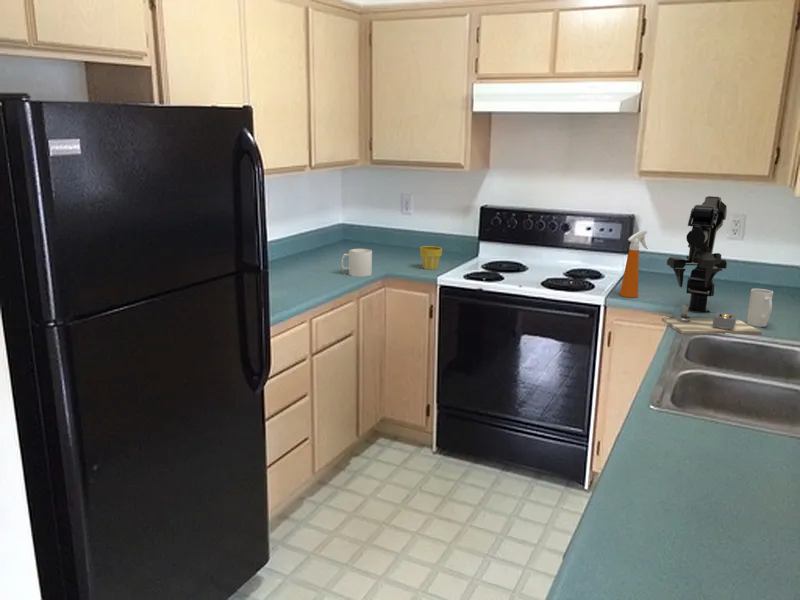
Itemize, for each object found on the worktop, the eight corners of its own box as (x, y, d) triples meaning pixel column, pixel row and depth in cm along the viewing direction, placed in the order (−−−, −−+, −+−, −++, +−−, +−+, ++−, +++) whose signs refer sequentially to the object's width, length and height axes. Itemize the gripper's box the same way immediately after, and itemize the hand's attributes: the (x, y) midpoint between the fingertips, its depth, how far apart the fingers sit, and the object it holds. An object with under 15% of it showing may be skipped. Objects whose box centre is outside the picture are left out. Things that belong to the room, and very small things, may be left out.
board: (661, 320, 230) (662, 318, 230) (736, 321, 231) (736, 318, 231) (681, 333, 215) (681, 330, 215) (761, 334, 217) (761, 331, 217)
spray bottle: (648, 296, 265) (656, 231, 259) (628, 298, 261) (636, 232, 254) (635, 292, 271) (642, 228, 265) (615, 294, 267) (622, 230, 260)
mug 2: (741, 321, 232) (747, 288, 229) (760, 321, 232) (766, 288, 229) (757, 329, 222) (763, 295, 219) (777, 330, 222) (783, 295, 219)
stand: (674, 318, 229) (676, 303, 228) (686, 318, 229) (688, 303, 228) (680, 322, 225) (682, 306, 224) (692, 322, 225) (694, 306, 224)
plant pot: (445, 267, 311) (446, 247, 309) (434, 271, 303) (435, 250, 300) (426, 265, 316) (427, 245, 314) (415, 268, 308) (415, 247, 306)
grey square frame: (714, 320, 224) (716, 312, 223) (735, 324, 221) (737, 315, 220) (712, 325, 219) (713, 316, 218) (733, 328, 215) (735, 319, 215)
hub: (712, 325, 222) (714, 312, 221) (727, 325, 223) (729, 312, 222) (720, 329, 217) (722, 316, 216) (735, 329, 218) (737, 316, 217)
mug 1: (341, 276, 288) (341, 252, 285) (341, 271, 298) (341, 248, 295) (372, 276, 289) (372, 252, 286) (371, 271, 299) (371, 248, 296)
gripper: (684, 246, 216) (677, 292, 220) (739, 247, 217) (732, 293, 221) (668, 240, 227) (663, 284, 231) (721, 241, 228) (715, 285, 232)
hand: (693, 287), depth 229 cm, fingers open, 9 cm apart
